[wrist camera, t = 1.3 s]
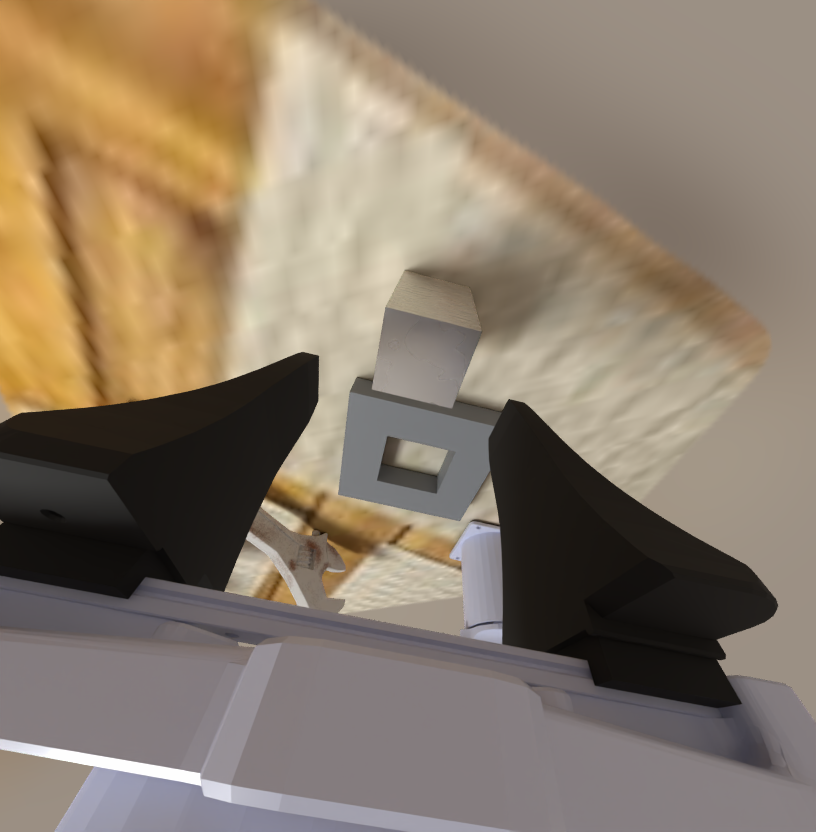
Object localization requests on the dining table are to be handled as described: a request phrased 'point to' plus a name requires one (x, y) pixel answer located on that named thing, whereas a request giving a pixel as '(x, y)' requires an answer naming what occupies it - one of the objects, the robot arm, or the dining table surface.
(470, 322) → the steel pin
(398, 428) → the socket block
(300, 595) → the wrench
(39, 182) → the dining table surface
